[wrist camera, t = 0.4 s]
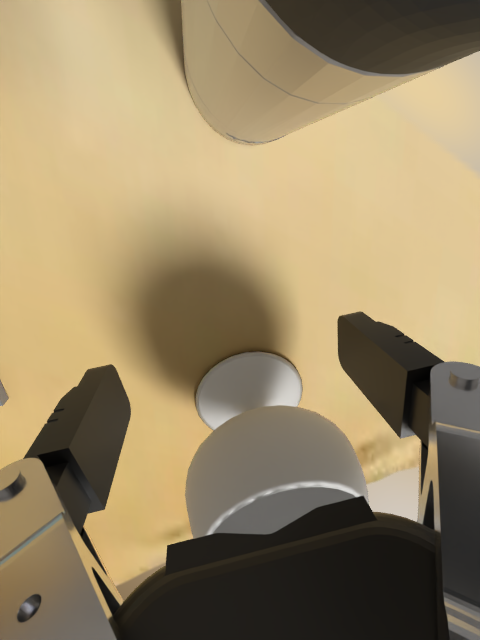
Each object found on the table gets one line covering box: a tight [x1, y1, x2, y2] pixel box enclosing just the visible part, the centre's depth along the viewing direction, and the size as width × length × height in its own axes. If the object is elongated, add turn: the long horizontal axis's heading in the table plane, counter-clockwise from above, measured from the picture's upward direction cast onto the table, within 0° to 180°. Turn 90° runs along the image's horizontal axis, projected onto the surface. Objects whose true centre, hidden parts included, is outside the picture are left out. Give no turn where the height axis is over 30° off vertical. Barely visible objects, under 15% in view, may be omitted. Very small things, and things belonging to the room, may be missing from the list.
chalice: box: [185, 352, 369, 539], centre depth 26 cm, size 14×14×15 cm
